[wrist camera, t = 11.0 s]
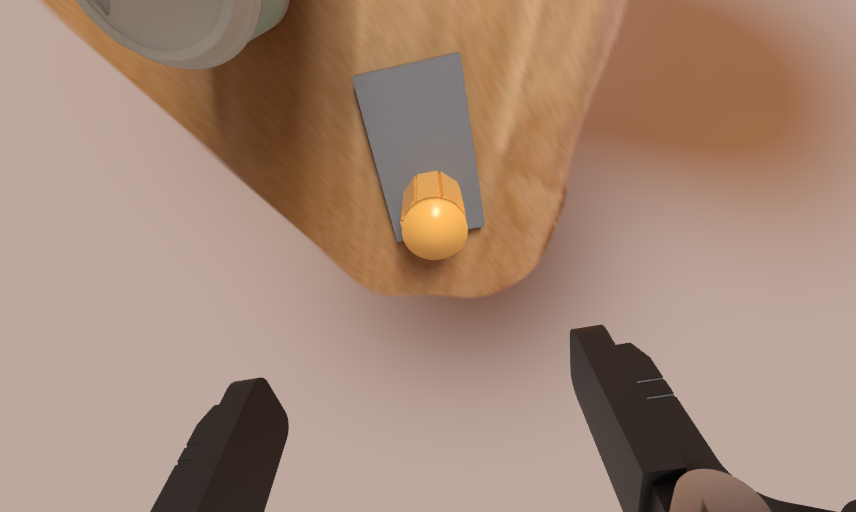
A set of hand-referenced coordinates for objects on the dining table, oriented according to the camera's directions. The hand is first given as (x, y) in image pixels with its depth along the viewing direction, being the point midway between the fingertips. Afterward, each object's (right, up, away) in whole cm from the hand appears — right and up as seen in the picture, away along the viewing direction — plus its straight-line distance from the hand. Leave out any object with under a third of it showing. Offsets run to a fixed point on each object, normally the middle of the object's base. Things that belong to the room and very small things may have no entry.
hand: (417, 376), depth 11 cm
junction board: (0, +12, +23) cm, 26 cm away
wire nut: (+1, +8, +24) cm, 25 cm away
